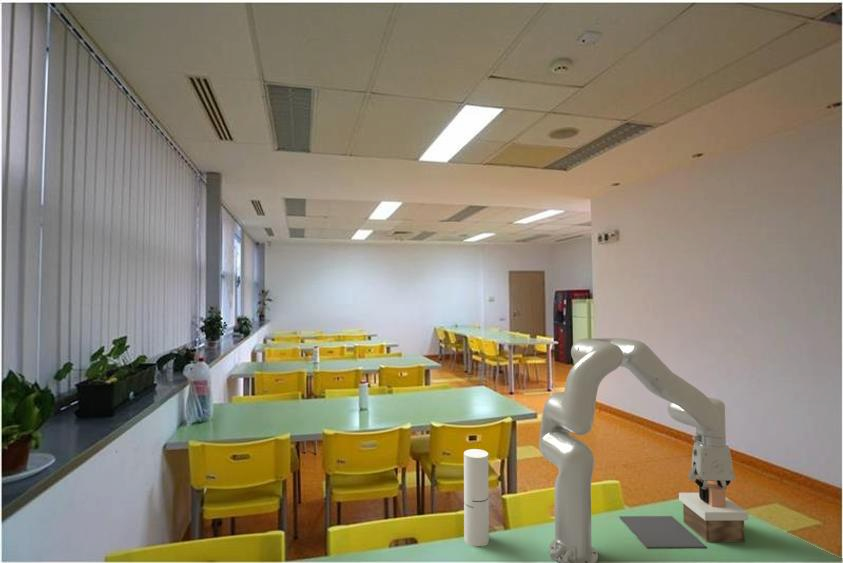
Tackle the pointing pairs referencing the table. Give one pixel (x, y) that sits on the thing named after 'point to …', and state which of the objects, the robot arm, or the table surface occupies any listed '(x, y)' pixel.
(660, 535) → the mat
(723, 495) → the lid
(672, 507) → the table surface
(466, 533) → the cylindrical container
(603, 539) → the table surface
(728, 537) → the box
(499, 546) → the table surface
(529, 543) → the table surface
